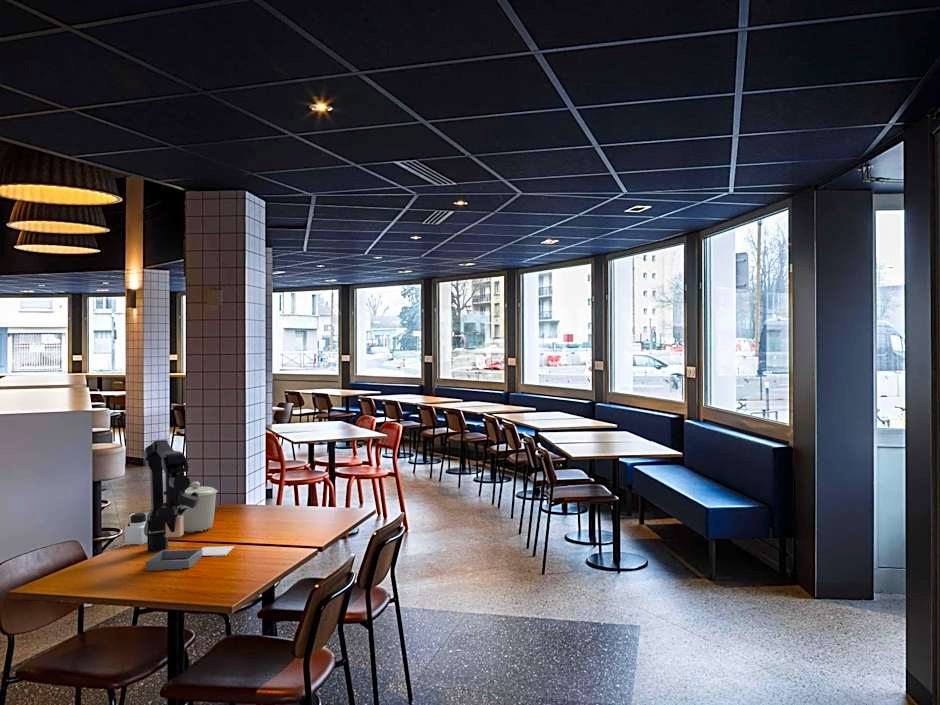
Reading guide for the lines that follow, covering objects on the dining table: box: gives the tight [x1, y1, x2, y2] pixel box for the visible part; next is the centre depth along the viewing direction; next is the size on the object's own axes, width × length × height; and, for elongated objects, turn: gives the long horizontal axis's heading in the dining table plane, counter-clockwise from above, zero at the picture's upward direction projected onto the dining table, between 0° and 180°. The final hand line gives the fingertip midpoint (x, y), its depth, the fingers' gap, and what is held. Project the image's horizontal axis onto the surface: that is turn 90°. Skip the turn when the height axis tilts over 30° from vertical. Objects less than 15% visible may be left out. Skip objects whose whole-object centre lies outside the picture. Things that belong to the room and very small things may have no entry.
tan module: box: [166, 515, 185, 538], centre depth 264 cm, size 5×4×7 cm
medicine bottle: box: [124, 512, 150, 546], centre depth 295 cm, size 7×7×12 cm
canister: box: [182, 481, 218, 533], centre depth 316 cm, size 18×18×21 cm
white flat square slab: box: [201, 545, 235, 557], centre depth 278 cm, size 12×12×1 cm
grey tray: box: [145, 548, 203, 571], centre depth 263 cm, size 15×15×3 cm
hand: (174, 530), depth 264 cm, fingers closed on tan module, 4 cm apart
